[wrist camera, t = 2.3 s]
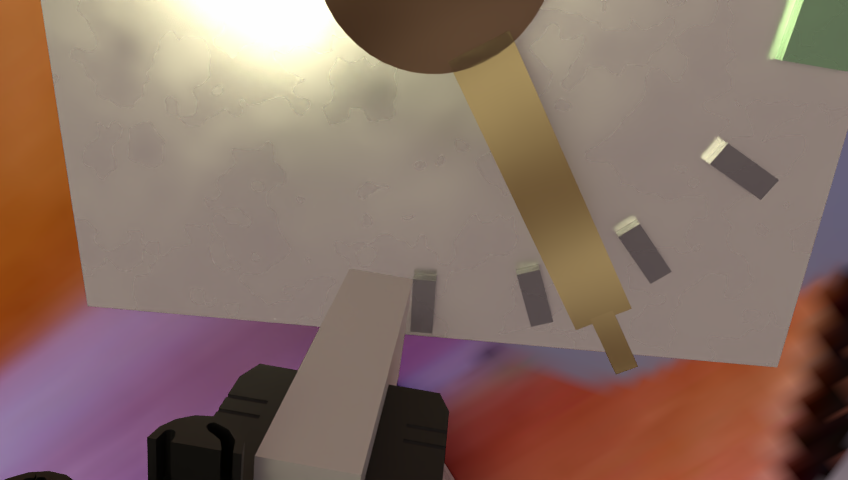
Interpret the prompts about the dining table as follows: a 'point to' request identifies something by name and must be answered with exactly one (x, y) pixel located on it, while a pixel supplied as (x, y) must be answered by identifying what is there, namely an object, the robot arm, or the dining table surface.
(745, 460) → the dining table surface
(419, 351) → the dining table surface
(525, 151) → the dial
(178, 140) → the tuner plate
